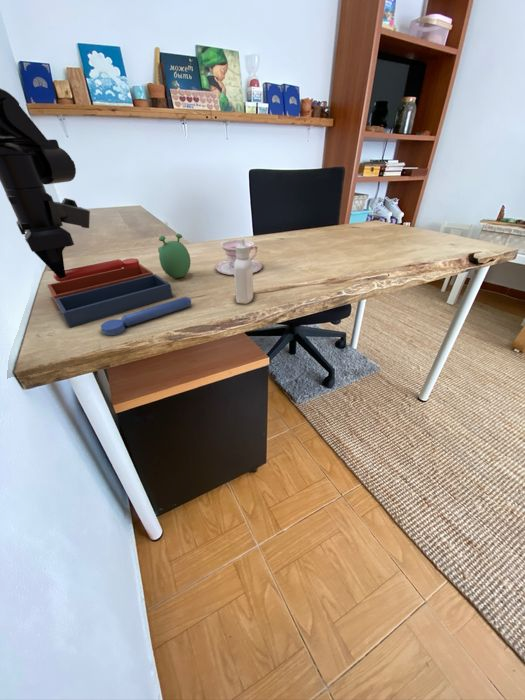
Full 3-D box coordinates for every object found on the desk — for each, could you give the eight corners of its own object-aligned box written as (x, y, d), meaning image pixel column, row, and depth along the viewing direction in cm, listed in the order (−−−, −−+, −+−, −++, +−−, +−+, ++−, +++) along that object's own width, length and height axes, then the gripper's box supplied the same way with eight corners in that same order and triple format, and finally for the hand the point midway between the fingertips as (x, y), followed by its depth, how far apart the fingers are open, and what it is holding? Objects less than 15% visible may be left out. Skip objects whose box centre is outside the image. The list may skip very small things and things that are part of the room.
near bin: (69, 327, 52) (62, 313, 50) (61, 312, 57) (54, 298, 55) (172, 297, 62) (170, 284, 60) (158, 286, 67) (155, 274, 65)
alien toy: (182, 269, 76) (175, 228, 70) (198, 277, 71) (192, 234, 66) (157, 276, 72) (147, 233, 67) (172, 284, 68) (163, 240, 62)
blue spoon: (187, 302, 60) (185, 293, 59) (195, 308, 58) (194, 298, 56) (100, 329, 51) (96, 319, 50) (106, 337, 49) (102, 327, 48)
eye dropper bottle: (261, 296, 62) (260, 237, 55) (243, 306, 58) (240, 244, 51) (245, 291, 64) (243, 234, 57) (227, 300, 60) (222, 240, 53)
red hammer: (57, 285, 57) (53, 275, 56) (54, 280, 60) (50, 270, 59) (142, 266, 66) (139, 257, 65) (136, 262, 68) (134, 253, 67)
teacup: (212, 276, 72) (209, 250, 68) (219, 260, 82) (217, 237, 78) (261, 276, 71) (260, 250, 68) (262, 260, 81) (262, 237, 78)
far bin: (59, 310, 58) (53, 296, 56) (52, 297, 63) (47, 284, 61) (155, 284, 68) (152, 272, 66) (143, 275, 73) (140, 264, 71)
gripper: (89, 188, 48) (117, 279, 57) (66, 180, 60) (92, 257, 69) (6, 194, 42) (51, 294, 51) (-1, 185, 54) (36, 267, 63)
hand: (61, 276), depth 59 cm, fingers closed on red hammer, 2 cm apart
